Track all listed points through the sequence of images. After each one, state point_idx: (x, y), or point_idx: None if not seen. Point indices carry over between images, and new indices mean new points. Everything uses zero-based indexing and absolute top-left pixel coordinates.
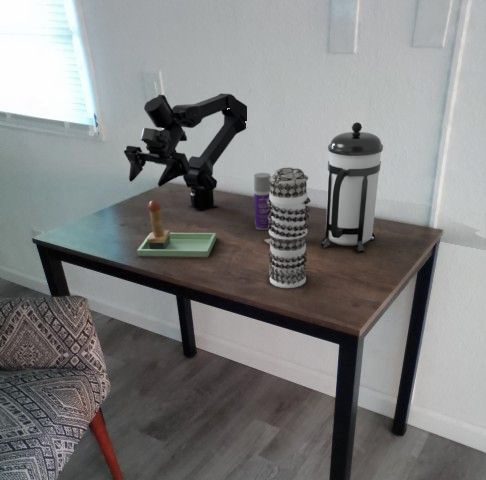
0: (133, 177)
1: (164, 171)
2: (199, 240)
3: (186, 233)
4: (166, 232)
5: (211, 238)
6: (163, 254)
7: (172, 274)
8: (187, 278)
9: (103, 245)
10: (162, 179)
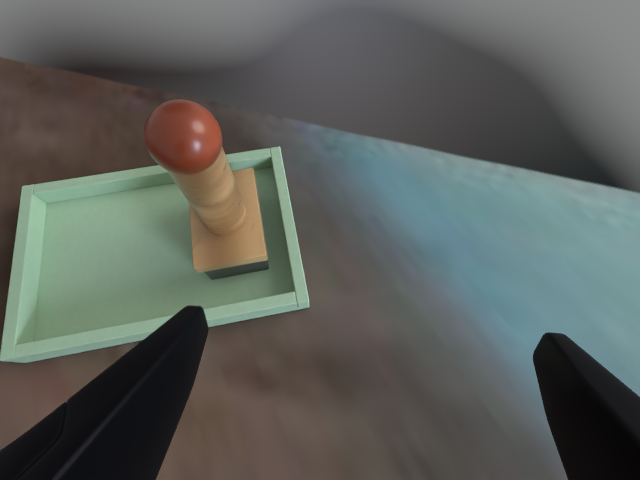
0: (556, 402)
1: (76, 433)
2: (91, 320)
3: (141, 324)
4: (198, 240)
5: (16, 296)
6: None
7: (136, 97)
8: (88, 87)
9: (459, 218)
10: (140, 344)
